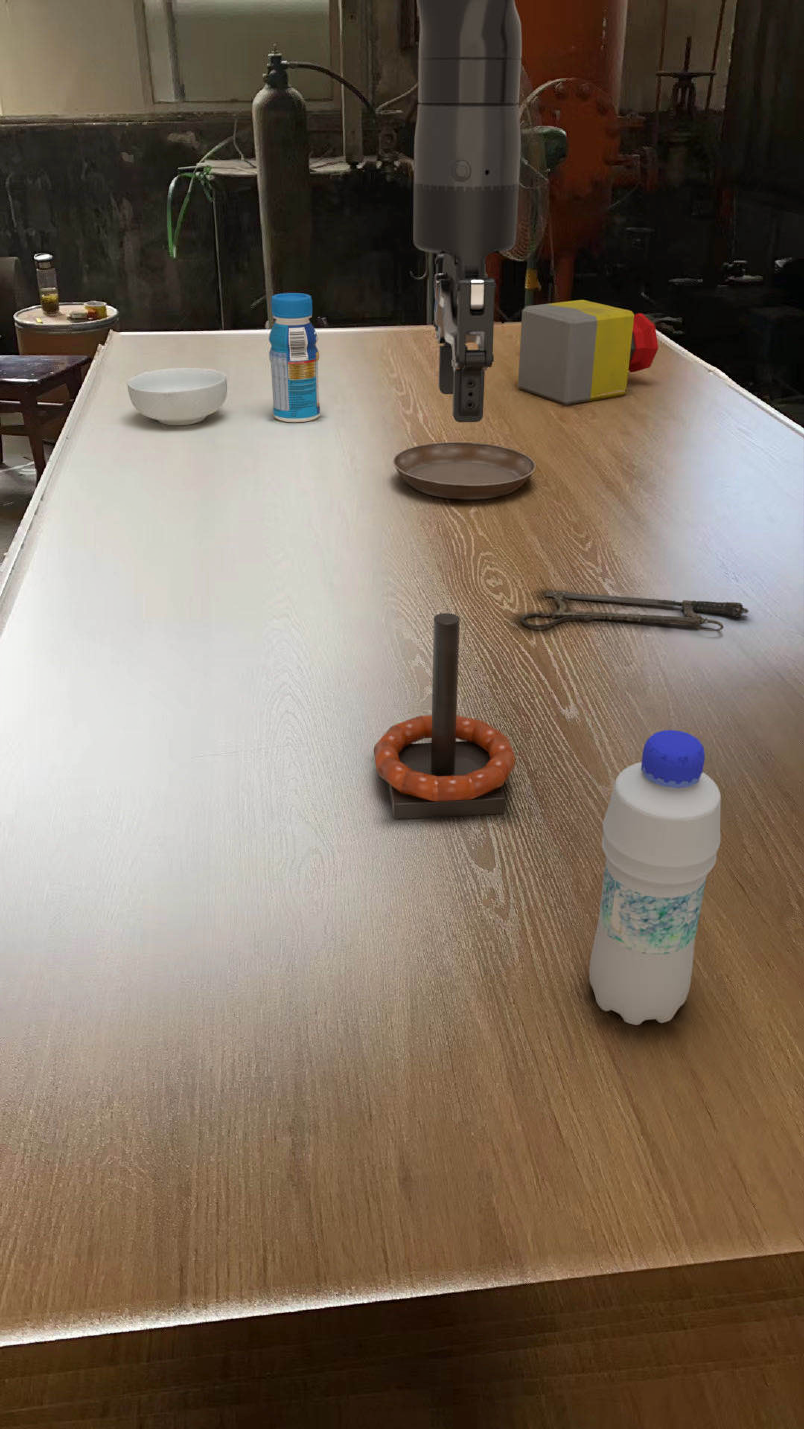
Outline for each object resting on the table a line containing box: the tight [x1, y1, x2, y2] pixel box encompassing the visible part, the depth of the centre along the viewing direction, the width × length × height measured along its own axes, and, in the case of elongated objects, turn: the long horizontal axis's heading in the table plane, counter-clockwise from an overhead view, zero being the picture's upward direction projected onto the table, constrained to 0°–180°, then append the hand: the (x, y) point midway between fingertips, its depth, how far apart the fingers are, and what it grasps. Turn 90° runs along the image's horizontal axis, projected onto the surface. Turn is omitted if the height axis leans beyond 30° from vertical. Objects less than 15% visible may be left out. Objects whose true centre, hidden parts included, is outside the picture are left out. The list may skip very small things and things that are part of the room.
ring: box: [373, 714, 517, 802], centre depth 91 cm, size 12×12×2 cm
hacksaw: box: [520, 590, 750, 632], centre depth 119 cm, size 24×10×2 cm, turn 76°
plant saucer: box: [392, 441, 537, 501], centre depth 159 cm, size 21×21×3 cm
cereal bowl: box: [126, 367, 228, 426], centre depth 187 cm, size 17×17×7 cm
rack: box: [388, 612, 506, 820], centre depth 88 cm, size 9×9×16 cm
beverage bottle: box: [268, 292, 321, 423], centre depth 185 cm, size 8×8×20 cm
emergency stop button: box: [517, 299, 659, 406], centre depth 204 cm, size 15×24×15 cm, turn 122°
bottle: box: [588, 729, 722, 1026], centre depth 65 cm, size 7×7×20 cm
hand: (459, 406), depth 86 cm, fingers open, 8 cm apart
